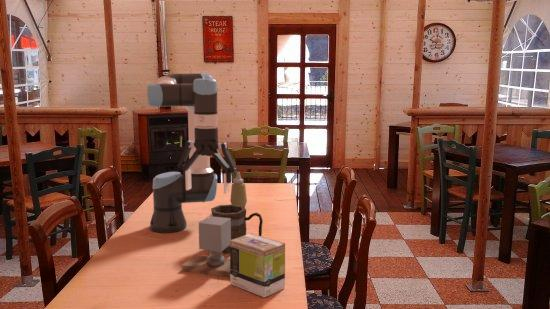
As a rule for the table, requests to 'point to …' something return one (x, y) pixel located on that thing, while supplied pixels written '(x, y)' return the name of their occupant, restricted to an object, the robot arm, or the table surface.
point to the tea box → (257, 264)
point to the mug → (235, 220)
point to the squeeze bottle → (238, 192)
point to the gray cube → (214, 233)
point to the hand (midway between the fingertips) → (207, 191)
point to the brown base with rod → (208, 264)
